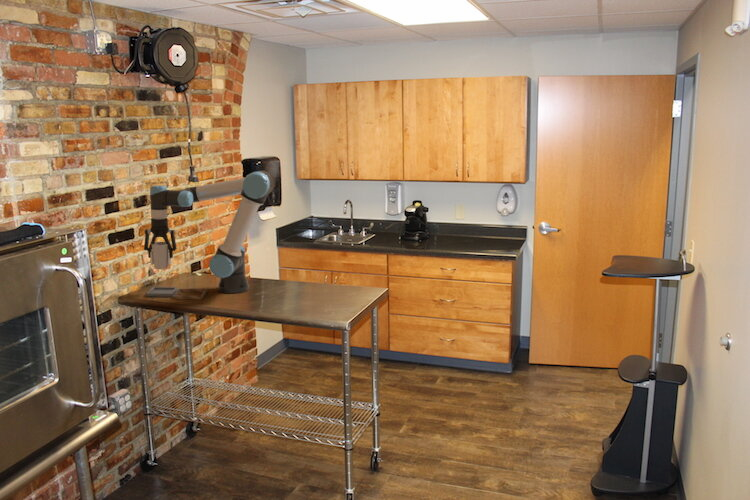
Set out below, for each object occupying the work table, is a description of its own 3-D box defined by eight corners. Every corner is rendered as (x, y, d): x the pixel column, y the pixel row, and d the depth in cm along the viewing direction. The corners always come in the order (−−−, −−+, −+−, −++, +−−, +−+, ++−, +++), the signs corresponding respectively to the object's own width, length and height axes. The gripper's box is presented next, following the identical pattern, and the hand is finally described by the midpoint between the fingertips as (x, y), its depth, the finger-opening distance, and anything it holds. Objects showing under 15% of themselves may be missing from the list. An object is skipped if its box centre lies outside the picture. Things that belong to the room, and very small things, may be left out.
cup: (164, 270, 292) (163, 245, 290) (149, 268, 294) (148, 244, 292) (172, 266, 300) (172, 242, 298) (158, 265, 302) (157, 241, 299)
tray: (178, 290, 306) (177, 287, 306) (172, 297, 294) (172, 293, 294) (153, 290, 305) (153, 286, 305) (146, 297, 293) (146, 293, 293)
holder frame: (207, 291, 306) (207, 288, 305) (202, 299, 292) (202, 296, 292) (179, 291, 304) (179, 288, 304) (173, 299, 291) (172, 296, 291)
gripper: (182, 217, 297) (184, 263, 301) (139, 216, 295) (141, 262, 299) (179, 219, 289) (180, 266, 294) (135, 218, 288) (137, 265, 292)
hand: (160, 264), depth 297 cm, fingers closed on cup, 7 cm apart
